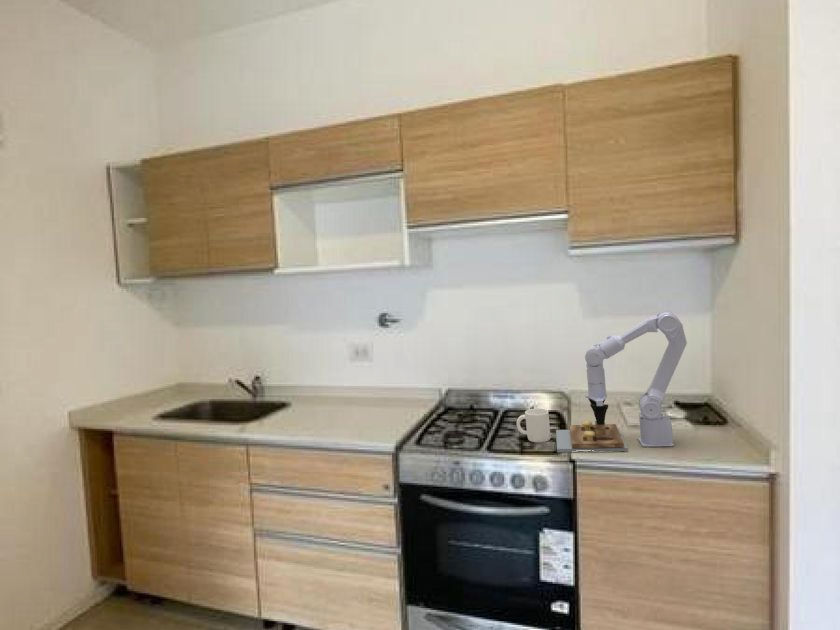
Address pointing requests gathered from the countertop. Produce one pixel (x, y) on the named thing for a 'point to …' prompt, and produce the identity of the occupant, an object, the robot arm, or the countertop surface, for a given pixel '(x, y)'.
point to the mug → (536, 425)
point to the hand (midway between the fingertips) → (599, 421)
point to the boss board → (568, 443)
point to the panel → (596, 436)
